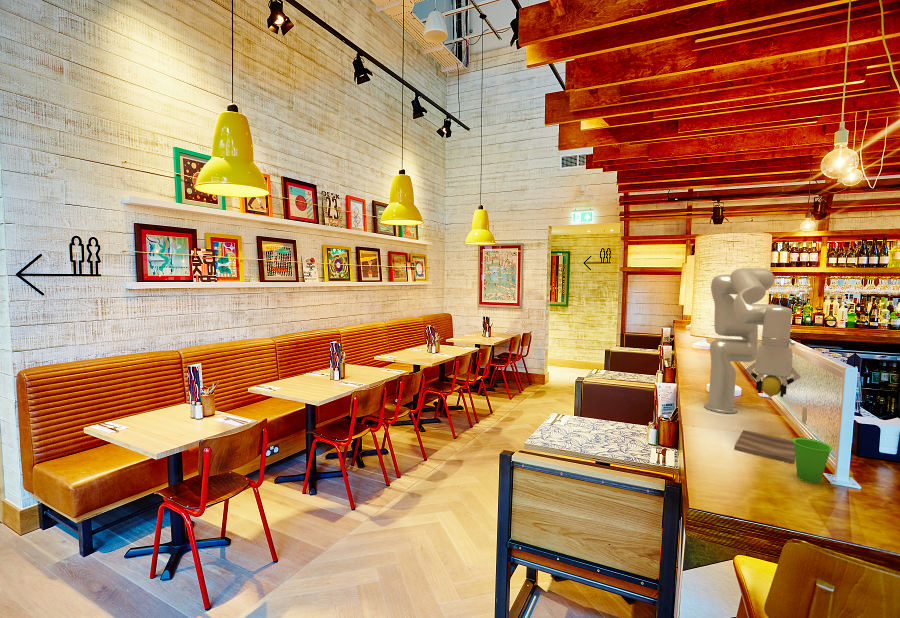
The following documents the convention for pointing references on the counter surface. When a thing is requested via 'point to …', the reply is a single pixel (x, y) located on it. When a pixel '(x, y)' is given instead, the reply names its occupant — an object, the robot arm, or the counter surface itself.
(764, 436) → the serving board
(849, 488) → the counter surface
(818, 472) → the cup
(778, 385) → the lemon
